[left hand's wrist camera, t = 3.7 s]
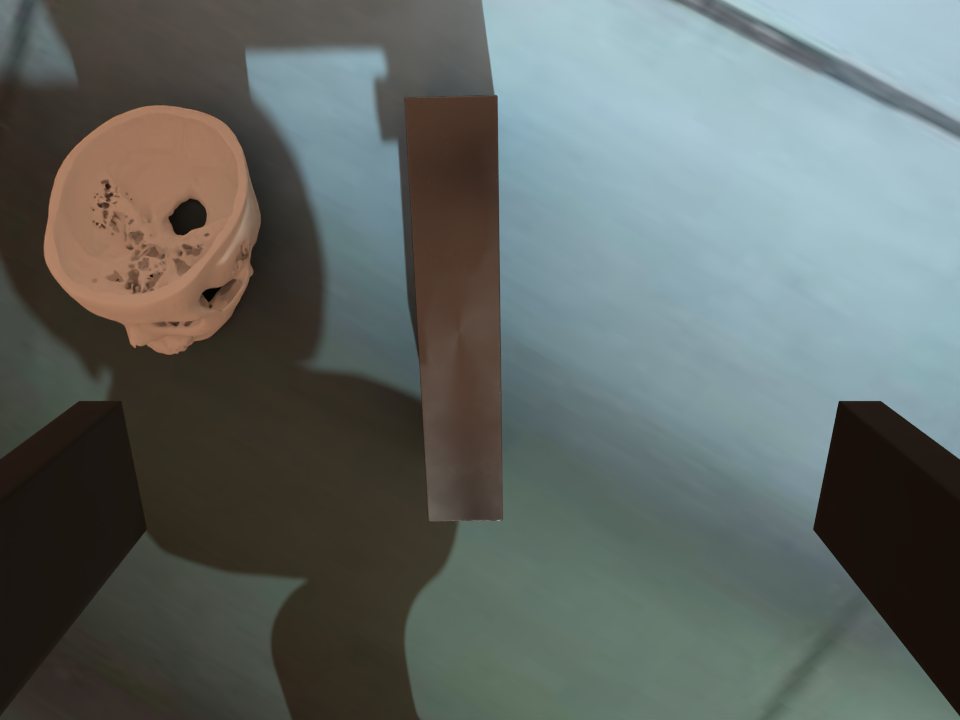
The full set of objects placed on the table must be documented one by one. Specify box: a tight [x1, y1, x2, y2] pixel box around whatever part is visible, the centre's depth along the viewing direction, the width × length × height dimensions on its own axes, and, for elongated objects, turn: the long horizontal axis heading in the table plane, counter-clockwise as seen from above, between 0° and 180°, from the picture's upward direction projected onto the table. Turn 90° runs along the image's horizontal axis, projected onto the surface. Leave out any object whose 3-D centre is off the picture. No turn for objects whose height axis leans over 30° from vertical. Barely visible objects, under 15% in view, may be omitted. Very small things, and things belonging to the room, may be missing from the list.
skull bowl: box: [44, 105, 261, 355], centre depth 42 cm, size 10×14×12 cm
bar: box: [405, 95, 503, 522], centre depth 43 cm, size 25×5×9 cm, turn 1°
